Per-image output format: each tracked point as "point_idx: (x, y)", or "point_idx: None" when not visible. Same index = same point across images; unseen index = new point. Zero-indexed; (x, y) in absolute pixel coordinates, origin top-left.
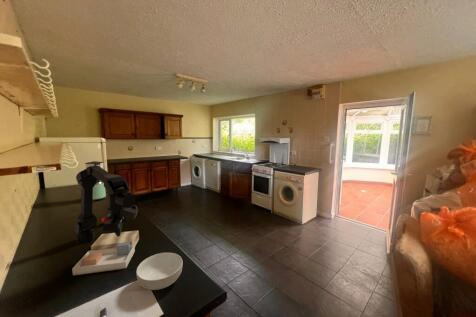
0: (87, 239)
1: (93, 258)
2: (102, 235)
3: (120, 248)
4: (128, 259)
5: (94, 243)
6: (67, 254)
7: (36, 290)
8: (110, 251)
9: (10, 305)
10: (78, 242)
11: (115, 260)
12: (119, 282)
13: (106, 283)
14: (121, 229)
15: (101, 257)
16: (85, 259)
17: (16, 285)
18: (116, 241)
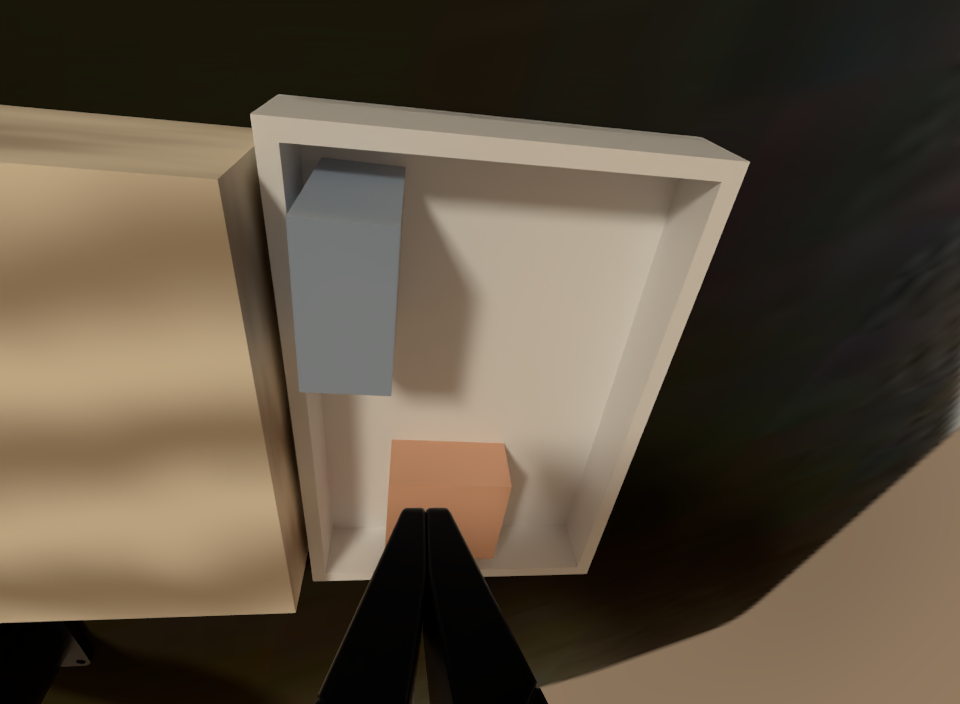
0: (35, 641)
1: (488, 508)
2: (15, 611)
3: (395, 325)
4: (617, 140)
5: (235, 608)
6: (262, 638)
7: (632, 603)
8: (317, 408)
9: (696, 627)
10: (80, 659)
11: (496, 303)
12: (930, 156)
13: (846, 278)
14: (366, 649)
15: (401, 445)
16: (480, 552)
17: (538, 672)
18: (197, 433)
